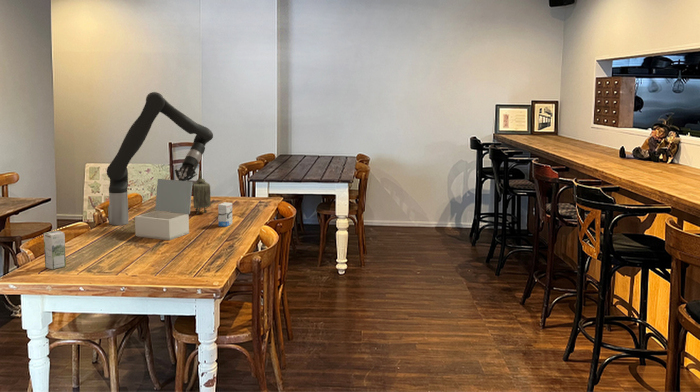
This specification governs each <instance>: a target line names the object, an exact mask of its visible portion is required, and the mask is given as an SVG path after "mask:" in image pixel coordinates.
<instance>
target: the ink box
mask: <svg viewBox="0 0 700 392" xmlns="http://www.w3.org/2000/svg"><path fill="white" fill-rule="evenodd" d="M217 206H218V207H217V209H218V212H217V213H218V217H217V219H218V227H223V228H225V227H228V226H231V225H233V202H225V201H224V202H222V203H218V205H217Z"/></svg>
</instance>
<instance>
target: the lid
mask: <svg viewBox="0 0 700 392" xmlns="http://www.w3.org/2000/svg"><path fill="white" fill-rule="evenodd" d="M178 180H179V179H177V180H175V179H163V178H157V182H156V195H155V197H156V198H155V207H154V211H163V212H173V213H182V214H189V215H190V214H191V204H192V203H191V202H192V195H193V181H190V180H189V181H187V180H186V181H178Z"/></svg>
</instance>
